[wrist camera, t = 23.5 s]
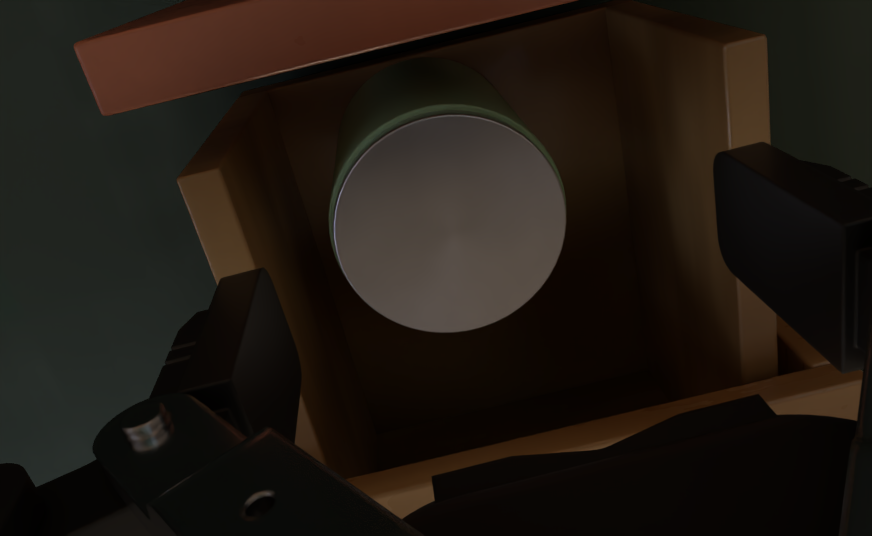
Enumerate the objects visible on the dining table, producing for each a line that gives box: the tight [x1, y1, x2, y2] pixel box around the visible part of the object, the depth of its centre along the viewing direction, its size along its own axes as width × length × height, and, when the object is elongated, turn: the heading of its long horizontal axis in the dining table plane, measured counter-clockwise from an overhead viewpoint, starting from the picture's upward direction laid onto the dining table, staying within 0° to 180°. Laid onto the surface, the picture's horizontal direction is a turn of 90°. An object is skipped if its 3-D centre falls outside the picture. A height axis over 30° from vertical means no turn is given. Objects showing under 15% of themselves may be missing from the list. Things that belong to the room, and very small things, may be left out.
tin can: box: [328, 57, 566, 333], centre depth 17 cm, size 5×5×6 cm
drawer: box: [74, 0, 778, 479], centre depth 17 cm, size 20×12×8 cm, turn 13°
